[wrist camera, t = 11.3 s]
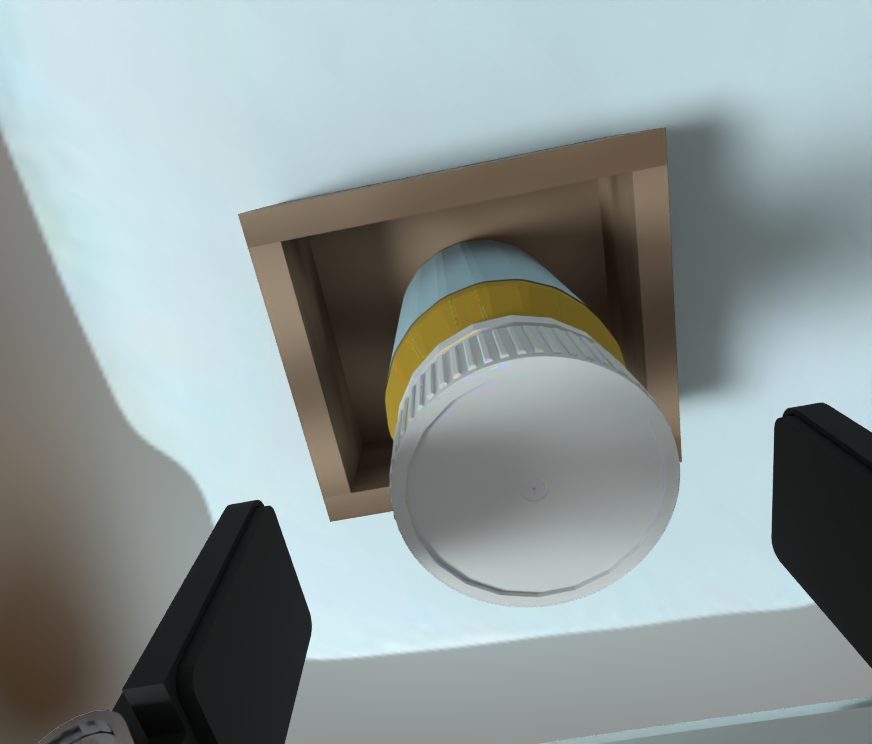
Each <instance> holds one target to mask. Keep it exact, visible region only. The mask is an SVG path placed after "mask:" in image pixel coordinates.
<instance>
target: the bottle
mask: <svg viewBox="0 0 872 744" xmlns="http://www.w3.org/2000/svg"><path fill="white" fill-rule="evenodd" d="M385 404H386V412H387V420H388V428H389V431H390V434H391V437H392V439H393V441H394V443H393V451H392V458H391V466H390V474H389V479H390V485H389V492H390V494H391V506H392V508H393V510H394V518H395V520H396V522H397V525H398V529H399V531H400V533H401V535H402V537H403V539H404V541H405V543H406V545H407V546H408V548H409V550H410V551H411V552H412V554H413V555H414V557H415V558H416V559H417V560H418V561H419V563H420V564H421V565H422V566H423V567H424V568H425V569H426V570H427V571H428V572H429V573H431V574H432V575H433V576H434V577H435V578H437V579H438V580H439V581H441V582H442V583H444V584H445V585H447V586H449V587H450V588H452V589H454V590H456V591H458V592H460V593H462V594H464V595H466V596H469V597H471V598H474V599H477V600H480V601H483V602H487V603H491V604H496V605H502V606H510V607H543V606H551V605H557V604H562V603H566V602H570V601H573V600H577V599H580V598H583V597H586V596H588V595H591V594H593V593H595V592H597V591H600V590H601V589H603V588H605V587H607V586H609V585H611V584H612V583H614V582H616V581H617V580H619V579H620V578H622V577H623V576H624V575H626V574H627V573H628V572H630V571H631V570H632V569H633V568H634V567H636V566H637V565H638V564H639V563H640V562H641V561H642V560H643V559H644V558H645V557H646V556H647V555H648V553H649V552H650V551H651V550H652V549H653V547H654V546H655V545H656V543H657V542H658V541H659V539H660V538H661V536H662V534H663V533H664V531H665V529H666V527H667V525H668V523H669V521H670V519H671V516H672V514H673V511H674V508H675V505H676V501H677V497H678V492H679V484H680V463H679V456H678V450H677V446H676V442H675V438H674V437H673V434H672V432H671V426H670V424H669V423H668V422H667V421H666V420H665V414H664V412H663V411H662V410H661V409H660V408H659V407H658V404H657V402H656V400H655V399H654V398H653V397H652V396H651V395H650V394H649V393H648V391H647V390H646V389H645V388H644V387H643V386H642V385H641V384H640V383H639V382H638V381H637V379H636V378H635V377H634V376H633V375H632V374H631V373H630V372H629V371H628V370H627V369H626V366H625V363H624V359H623V356H622V353H621V350H620V347H619V345H618V344H617V342H616V340H615V338H614V337H613V336H612V335H611V333H610V332H609V331H608V329H607V328H606V327H605V326H604V324H603V323H602V322H601V321H600V319H599V318H598V317H597V316H596V314H595V313H594V312H593V311H592V310H591V309H590V308H589V307H588V306H587V305H585V304H584V303H583V302H582V301H581V300H580V299H579V298H578V297H577V296H576V295H574V294H573V293H572V292H571V291H570V290H569V289H568V288H567V287H566V286H564V285H563V284H562V283H561V282H560V281H559V280H558V279H557V278H556V277H555V276H553V275H552V274H551V273H550V272H549V271H548V270H547V269H546V268H545V267H543V266H542V265H541V264H540V263H539V262H538V261H537V260H536V259H535V258H533V257H532V256H530V255H529V254H527V253H526V252H524V251H522V250H521V249H519V248H518V247H516V246H513V245H511V244H508V243H504V242H500V241H496V240H492V239H476V240H465V241H461V242H458V243H455V244H453V245H451V246H448V247H446V248H444V249H441V250H440V251H438V252H437V253H435V254H434V255H433V256H432V257H431V258H429V259H428V260H427V261H426V262H425V263H424V264H422V265H421V267H420V268H419V269H418V270H417V272H416V273H415V275H414V277H413V278H412V280H411V282H410V283H409V285H408V287H407V290H406V292H405V295H404V299H403V303H402V308H401V312H400V317H399V322H398V327H397V333H396V338H395V343H394V348H393V353H392V358H391V363H390V368H389V373H388V378H387V384H386V397H385Z"/></svg>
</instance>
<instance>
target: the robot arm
mask: <svg viewBox="0 0 872 744" xmlns="http://www.w3.org/2000/svg"><path fill="white" fill-rule="evenodd" d="M772 546H773V549H774V552H775V554H776V556H777V558H778V559H779V561H780V562H781V563H782V564H783V566H784V567H785V568H786V569H787V570H788V571H789V573H790V574H791V575H792V576H793V577H794V578H795V580H796V581H797V582H798V583H799V584H800V585H801V587H802V588H803V589H804V590H805V591H806V592H807V594H808V595H809V596H810V597H811V598H812V599H813V601H814V602H815V603H816V604H817V605H818V606H819V608H820V609H821V610H822V611H823V612H824V613H825V614H826V616H827V617H828V618H829V619H830V620H831V621H832V623H833V624H834V625H835V626H836V627H837V628H838V630H839V631H840V632H841V633H842V634H843V635H844V637H845V638H846V639H847V640H848V641H849V642H850V643H851V645H853V647H854V648H855V649H856V651H857V652H858V653H859V654H860V655H861V656H862V658H863V659H864V660H865V661H866V662H867V663H868V665H869V666H870V667H871V668H872V432H870V431H869V430H867V429H865V428H864V427H862V426H861V425H859V424H857V423H856V422H854V421H853V420H851V419H850V418H848V417H846V416H845V415H843V414H842V413H840V412H839V411H837V410H835V409H834V408H832V407H831V406H829V405H827V404H825V403H815V404H810V405H804V406H798V407H792V408H788V409H786V410H785V412H784V414H783V417H782V418H778V419H777V420H776V422H775V427H774V462H773V501H772ZM311 631H312V622H311V616H310V612H309V609H308V606H307V603H306V600H305V598H304V595H303V592H302V589H301V586H300V583H299V580H298V577H297V575H296V572H295V569H294V566H293V563H292V560H291V557H290V554H289V552H288V549H287V546H286V543H285V540H284V537H283V534H282V531H281V528H280V526H279V523H278V520H277V517H276V514H275V512H274V509H273V508H272V507H271V506H264V504H263V503H262V502H261V501H260V500H254V501H248V502H242V503H237V504H231V505H228V506H227V507H226V508H225V510H224V512H223V513H222V515H221V517H220V519H219V521H218V522H217V524H216V526H215V528H214V529H213V531H212V533H211V535H210V537H209V538H208V540H207V542H206V543H205V545H204V547H203V549H202V550H201V552H200V554H199V556H198V558H197V559H196V561H195V563H194V565H193V566H192V568H191V570H190V571H189V573H188V575H187V577H186V578H185V580H184V582H183V584H182V585H181V587H180V589H179V591H178V593H177V594H176V596H175V598H174V600H173V601H172V603H171V605H170V606H169V608H168V610H167V612H166V614H165V616H164V617H163V619H162V621H161V622H160V624H159V626H158V628H157V629H156V631H155V633H154V635H153V636H152V638H151V640H150V642H149V643H148V645H147V647H146V649H145V650H144V652H143V654H142V656H141V657H140V659H139V661H138V663H137V665H136V666H135V668H134V670H133V671H132V674H131V675H130V677H129V678H128V680H127V682H126V684H125V686H124V687H123V689H122V691H123V693H122V694H121V696H120V698H119V700H118V701H117V703H116V705H115V707H114V708H113V710H112V711H110V710H101V711H93V712H90V713H87V714H84V715H81V716H78V717H76V718H74V719H72V720H70V721H68V722H67V723H65V724H63V725H61V726H59V727H58V728H56V729H55V730H54V731H52V732H51V733H50V734H48V735H47V736H46V737H44V738H43V739H42V740H41V741H40V742H39V743H38V744H285V740H286V736H287V731H288V727H289V723H290V719H291V715H292V711H293V707H294V703H295V698H296V694H297V691H298V686H299V682H300V678H301V674H302V670H303V666H304V662H305V658H306V654H307V649H308V645H309V641H310V637H311ZM539 744H872V697H865V698H858V699H851V700H843V701H836V702H829V703H822V704H815V705H807V706H800V707H793V708H786V709H778V710H771V711H763V712H756V713H749V714H742V715H735V716H727V717H720V718H714V719H706V720H699V721H692V722H685V723H678V724H672V725H664V726H657V727H650V728H643V729H636V730H629V731H622V732H615V733H609V734H601V735H594V736H587V737H580V738H573V739H567V740H559V741H553V742H546V743H539Z"/></svg>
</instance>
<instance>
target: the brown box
mask: <svg viewBox="0 0 872 744" xmlns="http://www.w3.org/2000/svg"><path fill="white" fill-rule="evenodd" d="M238 216H239V219H240V222H241V226H242V229H243V232H244V236H245V239H246V242H247V246H248V249H249V252H250V256H251V259H252V262H253V266H254V269H255V272H256V276H257V279H258V282H259V286H260V289H261V292H262V296H263V299H264V302H265V306H266V309H267V312H268V316H269V319H270V322H271V326H272V329H273V332H274V336H275V339H276V342H277V346H278V349H279V352H280V356H281V359H282V362H283V366H284V369H285V372H286V376H287V379H288V382H289V386H290V389H291V392H292V396H293V399H294V402H295V406H296V409H297V412H298V416H299V419H300V422H301V426H302V429H303V432H304V436H305V439H306V442H307V446H308V449H309V452H310V456H311V459H312V462H313V466H314V469H315V472H316V476H317V479H318V482H319V486H320V489H321V492H322V496H323V499H324V502H325V506H326V509H327V512H328V516H329V519H330V522H331V521H337V520H343V519H349V518H355V517H361V516H367V515H373V514H378V513H384V512H390V511H394V510H393V508H392V506H391V494H390V492H389V485H390V479H389V474H390V466H391V458H392V451H393V443H394V441H393V439H392V437H391V434H390V431H389V428H388V420H387V412H386V404H385V397H386V384H387V378H388V373H389V368H390V363H391V358H392V353H393V348H394V343H395V338H396V333H397V327H398V322H399V317H400V312H401V308H402V303H403V299H404V295H405V292H406V290H407V287H408V285H409V283H410V282H411V280H412V278H413V277H414V275H415V273H416V272H417V270H418V269H419V268H420V267H421V265H422V264H424V263H425V262H426V261H427V260H428V259H429V258H431V257H432V256H433V255H434V254H435V253H437V252H438V251H440V250H441V249H444V248H446V247H448V246H451V245H453V244H455V243H458V242H461V241H465V240H476V239H492V240H496V241H500V242H504V243H508V244H511V245H513V246H516V247H518V248H519V249H521V250H522V251H524V252H526V253H527V254H529V255H530V256H532V257H533V258H535V259H536V260H537V261H538V262H539V263H540V264H541V265H542V266H543V267H545V268H546V269H547V270H548V271H549V272H550V273H551V274H552V275H553V276H555V277H556V278H557V279H558V280H559V281H560V282H561V283H562V284H563V285H564V286H566V287H567V288H568V289H569V290H570V291H571V292H572V293H573V294H574V295H576V296H577V297H578V298H579V299H580V300H581V301H582V302H583V303H584V304H585V305H587V306H588V307H589V308H590V309H591V310H592V311H593V312H594V313H595V314H596V316H597V317H598V318H599V319H600V321H601V322H602V323H603V324H604V326H605V327H606V328H607V329H608V331H609V332H610V333H611V335H612V336H613V337H614V338H615V340H616V342H617V344H618V345H619V347H620V350H621V353H622V356H623V359H624V363H625V366H626V369H627V370H628V371H629V372H630V373H631V374H632V375H633V376H634V377H635V378H636V379H637V381H638V382H639V383H640V384H641V385H642V386H643V387H644V388H645V389H646V390H647V391H648V393H649V394H650V395H651V396H652V397H653V398H654V399H655V400H656V402H657V404H658V407H659V408H660V409H661V410H662V411H663V412H664V414H665V420H666V421H667V422H668V423H669V424H670V426H671V432H672V434H673V437H674V438H675V442H676V446H677V450H678V456H679V462H682V456H681V436H680V415H679V395H678V374H677V354H676V333H675V313H674V292H673V272H672V251H671V231H670V210H669V190H668V169H667V149H666V128H660V129H653V130H647V131H640V132H634V133H627V134H621V135H615V136H610V137H605V138H600V139H595V140H590V141H585V142H580V143H575V144H570V145H565V146H560V147H555V148H551V149H546V150H541V151H536V152H531V153H526V154H521V155H516V156H511V157H506V158H501V159H496V160H491V161H486V162H481V163H476V164H472V165H467V166H462V167H457V168H452V169H447V170H442V171H437V172H432V173H427V174H422V175H417V176H412V177H407V178H402V179H398V180H393V181H388V182H383V183H378V184H373V185H368V186H363V187H358V188H353V189H348V190H343V191H338V192H333V193H328V194H323V195H319V196H314V197H309V198H304V199H299V200H294V201H289V202H284V203H279V204H275V205H271V206H267V207H263V208H259V209H256V210H252V211H248V212H244V213H240V214H238Z"/></svg>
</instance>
